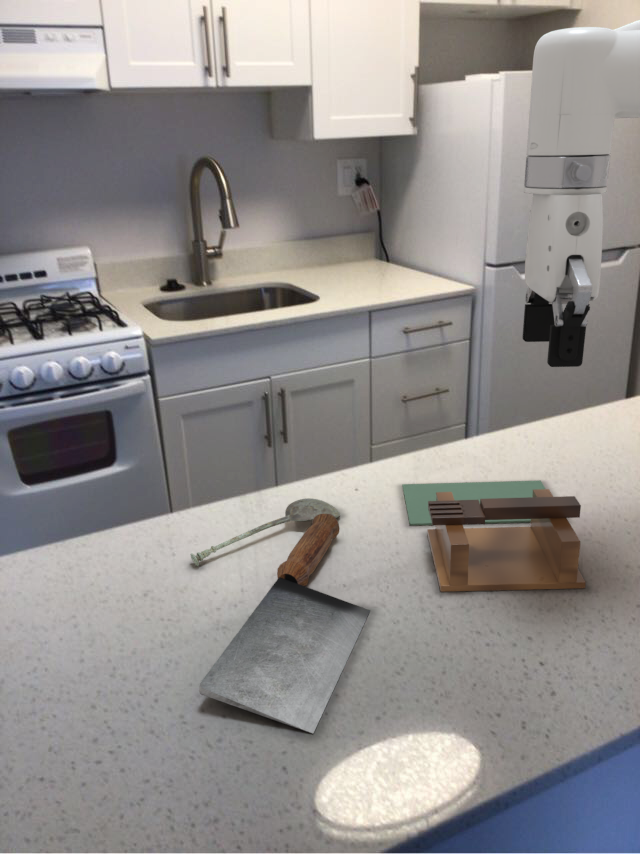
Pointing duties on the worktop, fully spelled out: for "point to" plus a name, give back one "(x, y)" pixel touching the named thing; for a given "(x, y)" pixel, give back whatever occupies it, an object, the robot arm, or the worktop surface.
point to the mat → (464, 496)
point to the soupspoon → (278, 522)
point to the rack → (506, 555)
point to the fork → (502, 509)
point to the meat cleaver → (290, 642)
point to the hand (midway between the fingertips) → (550, 352)
